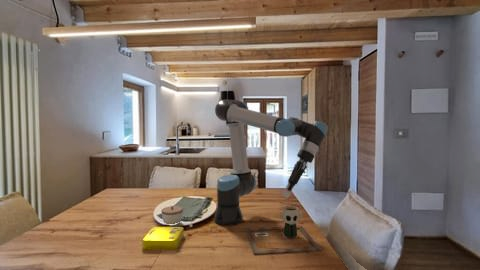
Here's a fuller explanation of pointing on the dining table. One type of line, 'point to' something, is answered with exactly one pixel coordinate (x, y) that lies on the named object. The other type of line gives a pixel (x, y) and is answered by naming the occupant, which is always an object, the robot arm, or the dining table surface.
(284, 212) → the character mug
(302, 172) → the robot arm
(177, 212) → the lidded jar
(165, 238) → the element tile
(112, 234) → the dining table surface
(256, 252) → the label frame
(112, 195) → the dining table surface
